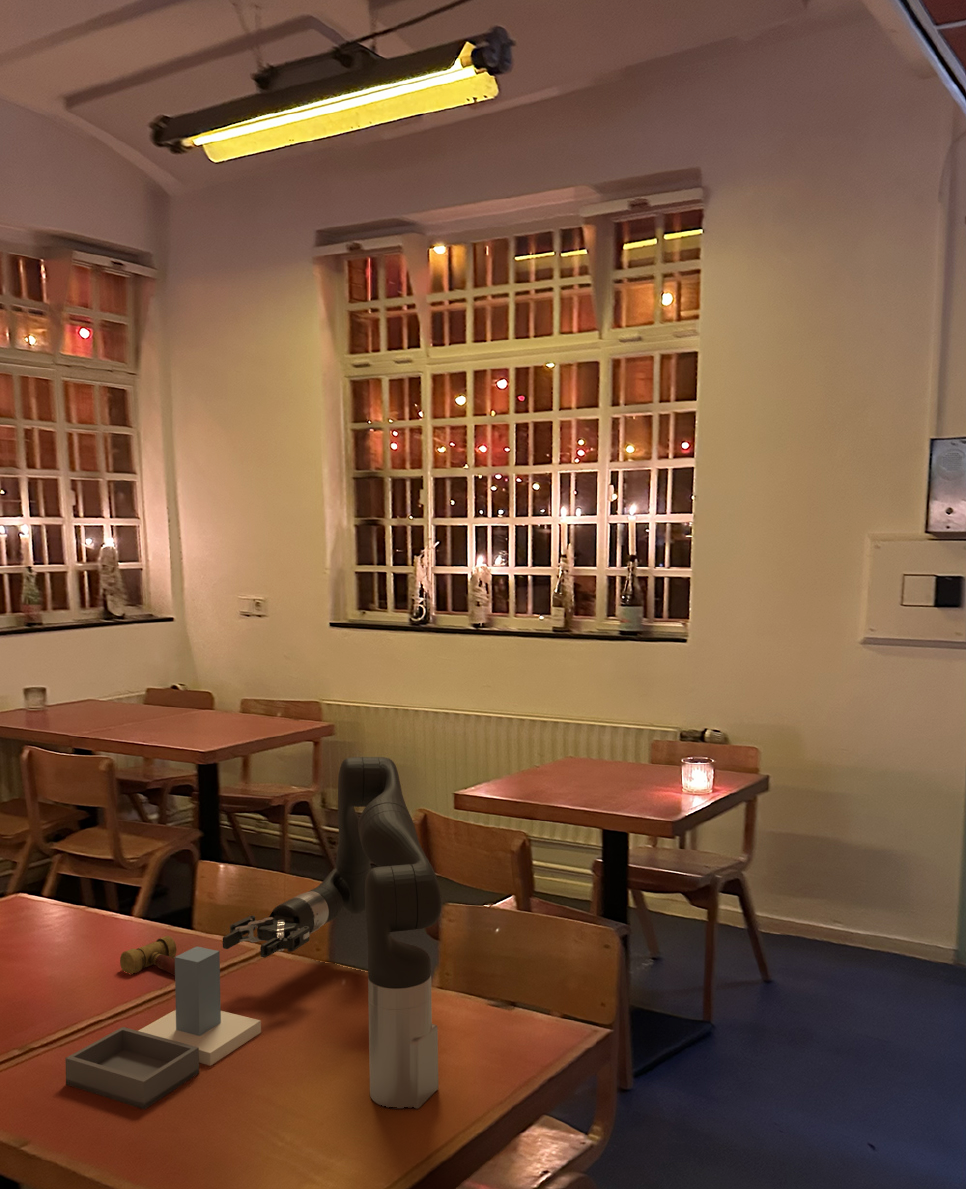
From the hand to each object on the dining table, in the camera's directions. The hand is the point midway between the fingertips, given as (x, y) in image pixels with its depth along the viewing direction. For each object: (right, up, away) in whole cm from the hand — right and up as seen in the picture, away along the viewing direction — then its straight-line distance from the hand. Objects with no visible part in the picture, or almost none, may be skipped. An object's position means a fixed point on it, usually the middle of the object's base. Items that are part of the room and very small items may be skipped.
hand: (242, 947), depth 167 cm
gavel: (-17, -12, +16) cm, 26 cm away
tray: (-11, -12, -23) cm, 28 cm away
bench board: (-5, -11, -10) cm, 16 cm away
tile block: (-5, -9, -10) cm, 14 cm away
